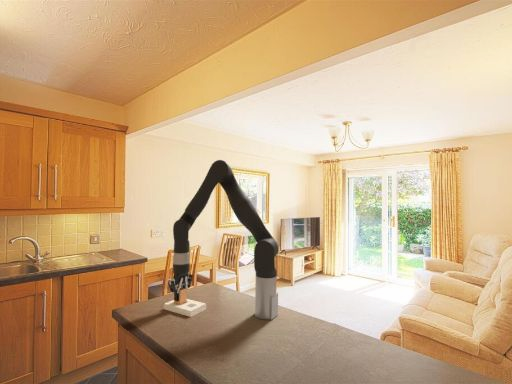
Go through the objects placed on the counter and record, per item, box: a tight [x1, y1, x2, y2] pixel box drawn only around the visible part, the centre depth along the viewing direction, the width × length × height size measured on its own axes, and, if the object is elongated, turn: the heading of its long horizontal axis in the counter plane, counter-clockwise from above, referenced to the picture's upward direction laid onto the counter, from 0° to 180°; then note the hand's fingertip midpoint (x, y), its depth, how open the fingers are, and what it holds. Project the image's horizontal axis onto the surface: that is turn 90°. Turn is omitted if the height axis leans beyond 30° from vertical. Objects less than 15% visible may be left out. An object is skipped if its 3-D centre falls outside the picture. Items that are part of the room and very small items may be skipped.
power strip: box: [163, 298, 207, 318], centre depth 127 cm, size 16×10×3 cm, turn 60°
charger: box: [173, 285, 188, 305], centre depth 129 cm, size 4×4×9 cm
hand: (180, 299), depth 129 cm, fingers closed on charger, 4 cm apart
